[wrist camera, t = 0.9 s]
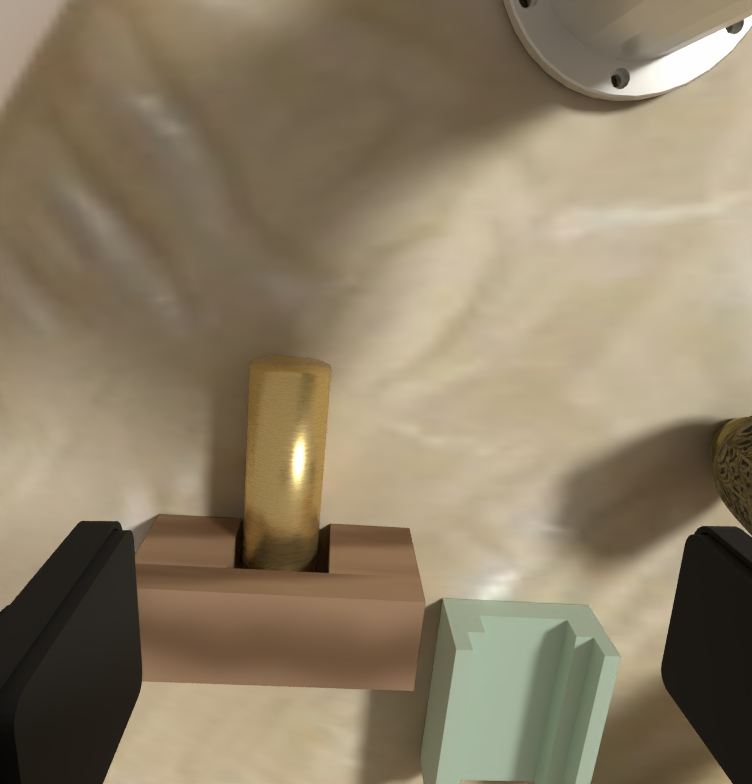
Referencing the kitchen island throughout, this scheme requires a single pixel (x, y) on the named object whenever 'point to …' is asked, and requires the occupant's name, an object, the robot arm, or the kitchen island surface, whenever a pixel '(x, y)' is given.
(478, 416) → the kitchen island surface
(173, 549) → the beam
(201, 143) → the kitchen island surface
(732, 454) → the cup
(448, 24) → the kitchen island surface
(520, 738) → the v block
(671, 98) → the kitchen island surface
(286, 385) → the axle
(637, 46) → the robot arm
